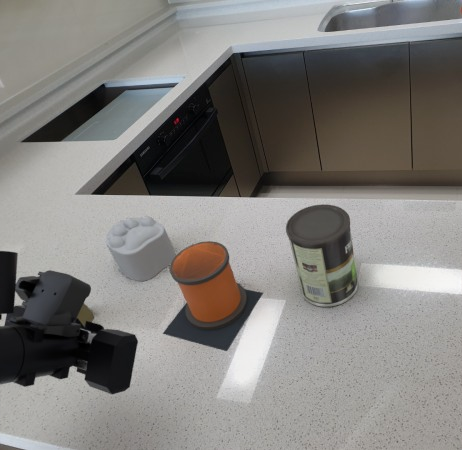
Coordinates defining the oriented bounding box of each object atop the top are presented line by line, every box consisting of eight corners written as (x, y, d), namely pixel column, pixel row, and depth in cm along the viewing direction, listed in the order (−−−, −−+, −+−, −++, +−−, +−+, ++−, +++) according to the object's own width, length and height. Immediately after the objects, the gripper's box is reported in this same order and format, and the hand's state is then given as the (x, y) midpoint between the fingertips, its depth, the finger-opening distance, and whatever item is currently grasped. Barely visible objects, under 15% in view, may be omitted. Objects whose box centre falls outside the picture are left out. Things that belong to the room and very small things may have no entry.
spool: (210, 341, 76) (189, 295, 69) (175, 310, 83) (153, 266, 76) (260, 301, 81) (245, 254, 74) (223, 275, 88) (207, 231, 81)
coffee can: (355, 262, 85) (347, 200, 76) (360, 304, 77) (352, 239, 68) (300, 269, 86) (286, 208, 77) (300, 310, 78) (284, 247, 69)
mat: (226, 350, 74) (226, 350, 74) (162, 333, 79) (162, 333, 79) (262, 293, 83) (262, 292, 82) (203, 281, 88) (203, 280, 88)
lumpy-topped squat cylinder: (141, 286, 90) (123, 252, 85) (108, 263, 98) (90, 231, 92) (182, 255, 95) (168, 222, 90) (148, 235, 103) (133, 204, 98)
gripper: (86, 291, 43) (187, 290, 58) (-35, 262, 51) (81, 267, 65) (63, 410, 43) (172, 380, 57) (-56, 362, 50) (66, 346, 64)
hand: (120, 338), depth 61 cm, fingers closed
